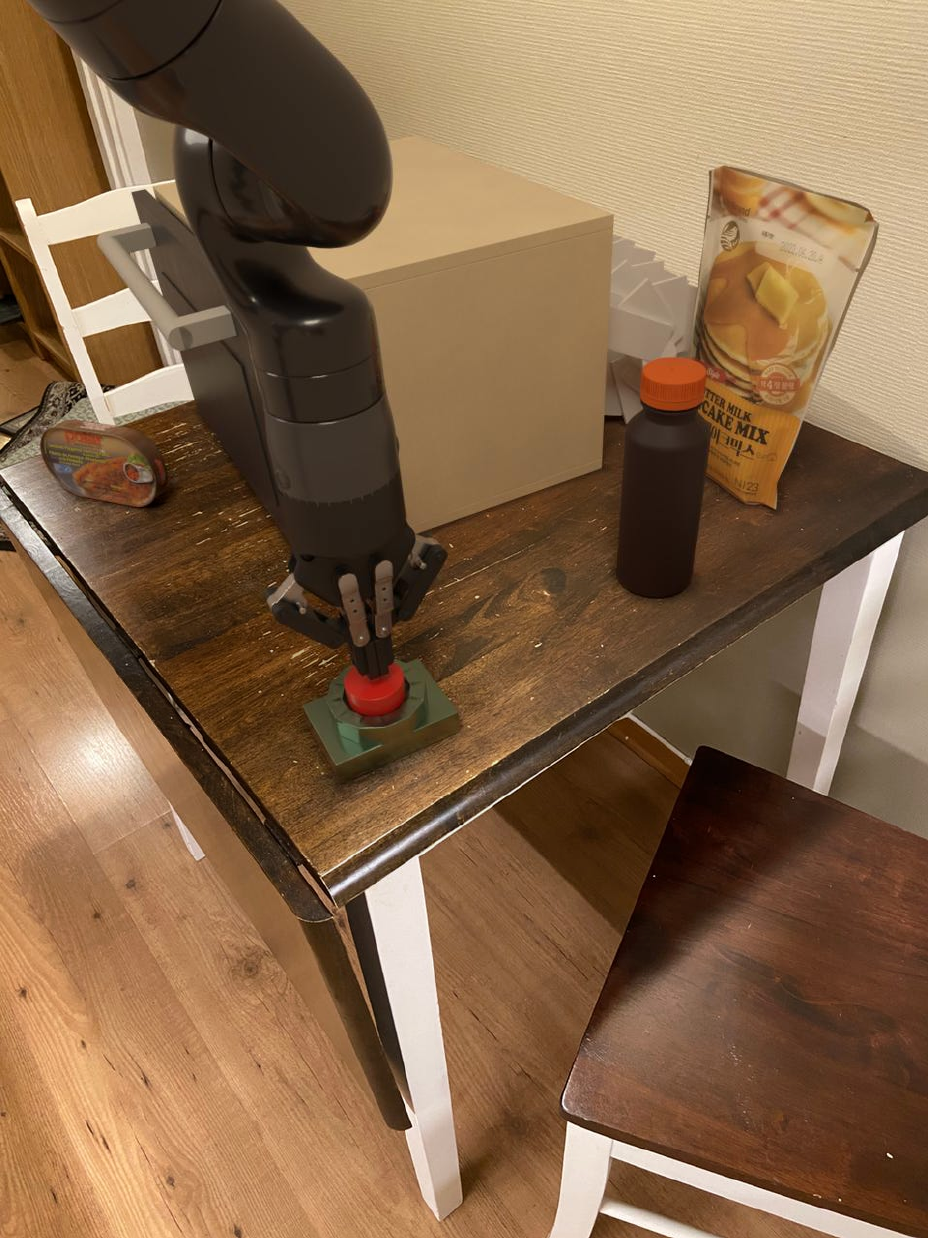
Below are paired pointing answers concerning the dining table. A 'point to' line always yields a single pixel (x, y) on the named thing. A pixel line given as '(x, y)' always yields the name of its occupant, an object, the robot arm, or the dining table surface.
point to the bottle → (663, 479)
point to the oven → (481, 328)
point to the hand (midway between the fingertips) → (374, 670)
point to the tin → (104, 462)
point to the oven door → (199, 337)
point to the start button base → (380, 724)
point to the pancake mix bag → (769, 316)
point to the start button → (375, 691)
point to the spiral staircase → (643, 322)
